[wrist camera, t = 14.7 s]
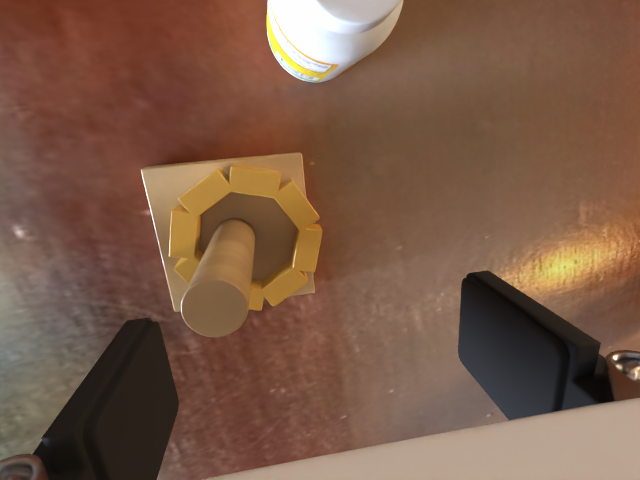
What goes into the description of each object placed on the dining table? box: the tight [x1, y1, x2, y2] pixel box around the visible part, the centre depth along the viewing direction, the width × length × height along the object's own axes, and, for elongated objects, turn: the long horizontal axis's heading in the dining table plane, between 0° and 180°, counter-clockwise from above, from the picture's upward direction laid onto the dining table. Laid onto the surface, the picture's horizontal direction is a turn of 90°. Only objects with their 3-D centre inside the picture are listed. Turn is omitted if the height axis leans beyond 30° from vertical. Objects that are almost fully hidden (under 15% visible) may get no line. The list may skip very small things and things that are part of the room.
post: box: [141, 152, 315, 337], centre depth 18 cm, size 9×9×10 cm
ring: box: [169, 164, 323, 311], centre depth 21 cm, size 8×8×1 cm
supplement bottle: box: [267, 0, 404, 82], centre depth 15 cm, size 5×5×10 cm
